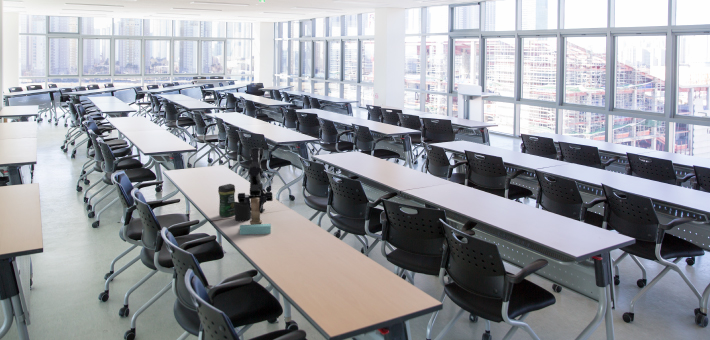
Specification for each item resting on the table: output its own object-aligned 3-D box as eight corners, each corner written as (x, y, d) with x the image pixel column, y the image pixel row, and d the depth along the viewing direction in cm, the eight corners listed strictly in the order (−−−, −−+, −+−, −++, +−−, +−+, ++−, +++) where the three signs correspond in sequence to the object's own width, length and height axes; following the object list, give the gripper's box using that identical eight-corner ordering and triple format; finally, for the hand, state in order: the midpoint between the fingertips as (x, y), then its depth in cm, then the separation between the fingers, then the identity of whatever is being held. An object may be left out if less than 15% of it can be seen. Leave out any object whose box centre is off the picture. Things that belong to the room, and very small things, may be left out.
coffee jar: (226, 218, 315) (224, 187, 311) (217, 215, 320) (215, 185, 316) (238, 214, 323) (237, 184, 319) (230, 212, 327) (228, 182, 323)
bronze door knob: (254, 220, 301) (253, 196, 298) (264, 222, 299) (263, 197, 296) (247, 224, 296) (246, 199, 293) (257, 225, 293) (256, 200, 290)
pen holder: (247, 222, 308) (246, 205, 306) (232, 221, 310) (231, 204, 308) (253, 217, 317) (253, 200, 315) (238, 216, 319) (237, 199, 317)
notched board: (241, 227, 299) (241, 220, 298) (270, 226, 301) (270, 219, 300) (239, 234, 287) (239, 227, 286) (270, 233, 289) (270, 226, 288)
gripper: (237, 178, 295) (236, 203, 286) (271, 177, 297) (272, 202, 289) (238, 189, 304) (238, 214, 296) (272, 188, 306) (272, 212, 298)
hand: (255, 210), depth 294 cm, fingers closed on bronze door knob, 5 cm apart
